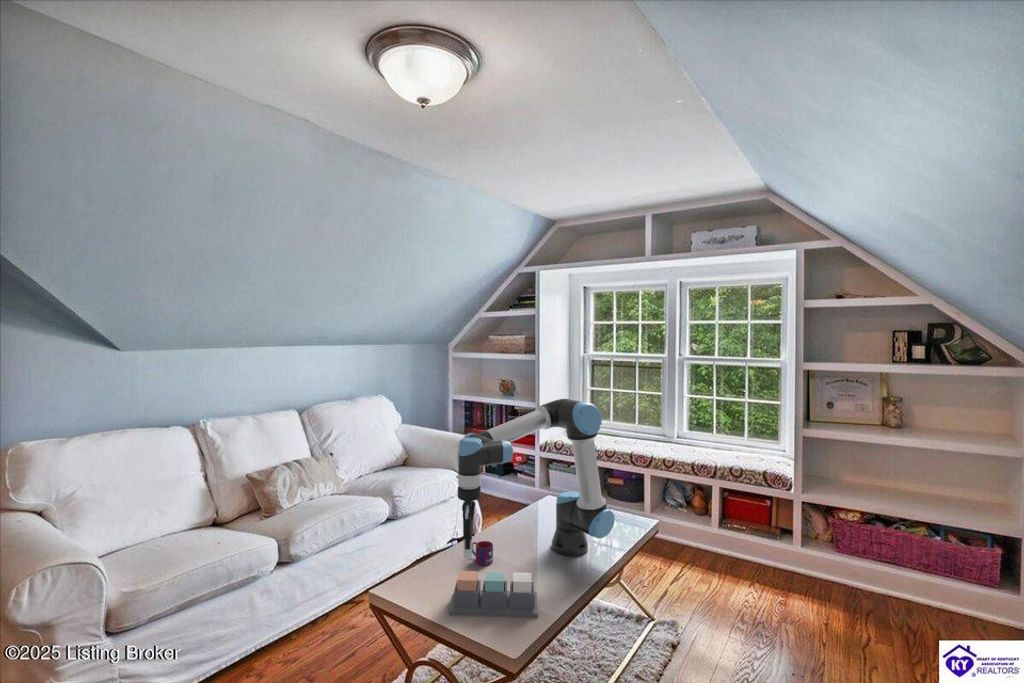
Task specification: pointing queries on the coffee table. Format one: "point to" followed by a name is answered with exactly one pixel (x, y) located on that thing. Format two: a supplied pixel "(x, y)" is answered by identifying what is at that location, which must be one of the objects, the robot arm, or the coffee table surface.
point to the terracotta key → (467, 581)
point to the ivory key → (522, 583)
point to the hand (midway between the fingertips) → (467, 557)
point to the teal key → (494, 582)
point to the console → (494, 603)
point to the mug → (483, 553)
